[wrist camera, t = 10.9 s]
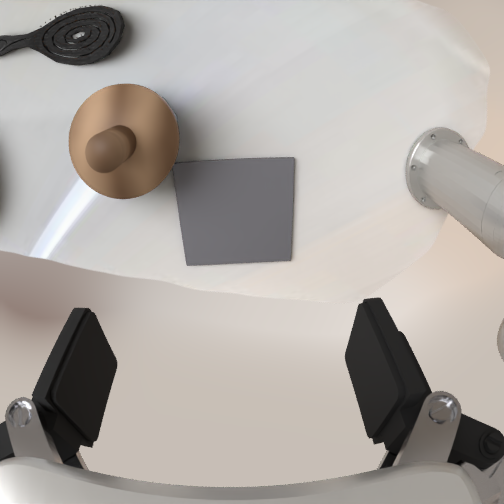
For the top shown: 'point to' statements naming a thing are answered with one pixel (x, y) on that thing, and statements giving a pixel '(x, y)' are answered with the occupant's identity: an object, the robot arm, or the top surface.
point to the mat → (235, 209)
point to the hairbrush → (51, 34)
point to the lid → (124, 141)
